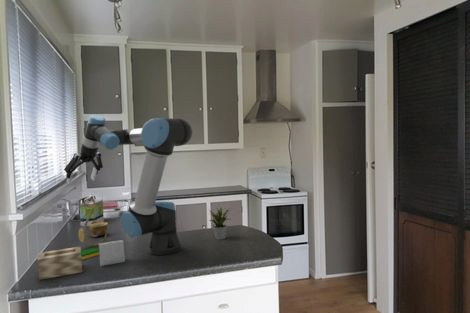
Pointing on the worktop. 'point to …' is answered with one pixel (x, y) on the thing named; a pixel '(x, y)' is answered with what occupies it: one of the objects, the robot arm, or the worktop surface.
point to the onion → (97, 229)
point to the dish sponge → (89, 253)
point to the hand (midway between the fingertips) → (80, 181)
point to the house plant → (219, 224)
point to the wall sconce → (98, 225)
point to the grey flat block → (111, 252)
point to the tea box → (86, 210)
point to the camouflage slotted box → (59, 262)
